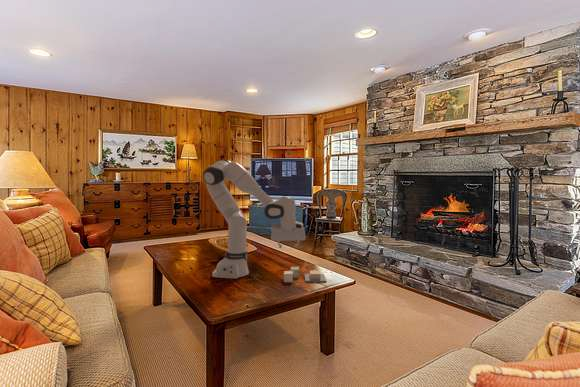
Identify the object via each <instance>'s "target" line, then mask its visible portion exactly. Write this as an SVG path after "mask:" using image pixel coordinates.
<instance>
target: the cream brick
mask: <svg viewBox="0 0 580 387" xmlns="http://www.w3.org/2000/svg"><path fill="white" fill-rule="evenodd" d="M293 278H294V277H293V271H291V270H284V271H283V282H284V283H293V280H294V279H293Z"/></svg>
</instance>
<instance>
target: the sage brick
mask: <svg viewBox="0 0 580 387" xmlns="http://www.w3.org/2000/svg"><path fill="white" fill-rule="evenodd" d="M290 271H293V278H300V267H299V266H291V267H290Z"/></svg>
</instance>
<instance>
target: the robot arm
mask: <svg viewBox="0 0 580 387" xmlns="http://www.w3.org/2000/svg"><path fill="white" fill-rule="evenodd" d="M202 178H203V180H204V182H205V185H206V190H207V192H208V194H209V196H210V197H211V199H212V201H213V202H214V205H216V207H217V208H218V210H219V212H220V214H222V216H223V217H224V219H225V221H226V223H227V224H228V227H227V229H228V233H227V235H228V236H227V238H228V239H227V250H226V251H225V253H224V257H223V259H221V260H220V261H219V262H218V263H217V265H216V268H215V269H214V270H213V271H212V274H211V276H212V277H213V278H221V279H222V278H223V279H238V278H242V277H246V276H248V275H249V274H250V272H249V267H248V261H247V260H248V251H247V233H248V232H247V227H248V221H247V218H246V216H245V215H244V213H243V211H242V210H241V208H240V207H239V205H238V203H237V202H236V200H235V198H234V197H233V195H232V193H231V192H230V190H229V189H228V187H227V185H226V184H225V181H226V180H228V181H230V182H231V183H232V184H233V185H234V187H236V189H238V190H239V191H241V192H242V193H243V194H248V195H251V196H253V197H254V198H256V200H258V201H259V203H261V204H262V205H263V207H264V210H263V212H264V216H265V217H266V218H267V219H270V220H277V219H280V223H279V224H272V225H271V226H270V227H269V228H270V232H271V234H270V239H271V241H272V242H275V241H276V243H277V245H278V248H279V249H282V248H283V247H282V246H283V244H281V242H284V241H285V242H286V241H287V242H288V241H296V242H297V243H296V244H294V245H295V246H294V247H295V248H296V249H298V248H299V245H300V241H306V238H307V237H306V230H305V228H304V223H303V222H301V221H297V218H296V213H297V210H296V206H297V205H296V201H295V199H294V198H293V197H290V196H281V197H280V198H278V199H277V200H276V199H273V198H272V197H271V196H270V195H269V194H267V192H265V191H264V190H263V189H262V188H261V186H260V185H259V183H258V182H257V181H256V179H255V178H254V176H253V175H252V174H251V173H250V172H249V171H248V170H247V169H246V168H245V167H243V165H241V164H239V163H238V162H236V161H231V160H229V159H224V158H223V159H220V160H219V161H216V162H214V163H212V164H211V165H210V166H208V167H207V168H206V169H205V170H204V171H203V173H202Z"/></svg>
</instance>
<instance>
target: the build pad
mask: <svg viewBox="0 0 580 387" xmlns="http://www.w3.org/2000/svg"><path fill="white" fill-rule="evenodd" d="M303 276H304V280H305V281H304V282H305V283H327V279H326V276H325V273H321V270H309V273H304V275H303Z"/></svg>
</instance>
